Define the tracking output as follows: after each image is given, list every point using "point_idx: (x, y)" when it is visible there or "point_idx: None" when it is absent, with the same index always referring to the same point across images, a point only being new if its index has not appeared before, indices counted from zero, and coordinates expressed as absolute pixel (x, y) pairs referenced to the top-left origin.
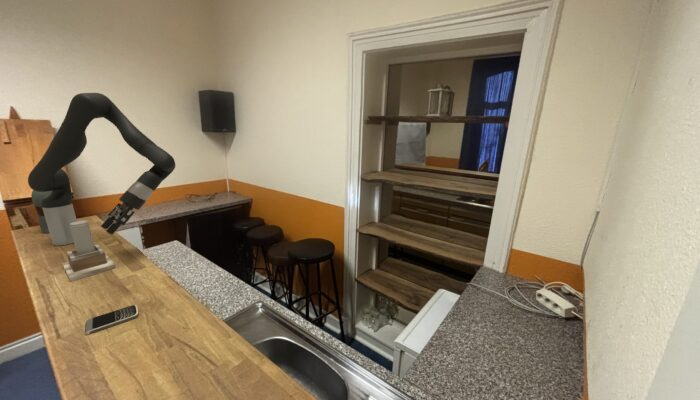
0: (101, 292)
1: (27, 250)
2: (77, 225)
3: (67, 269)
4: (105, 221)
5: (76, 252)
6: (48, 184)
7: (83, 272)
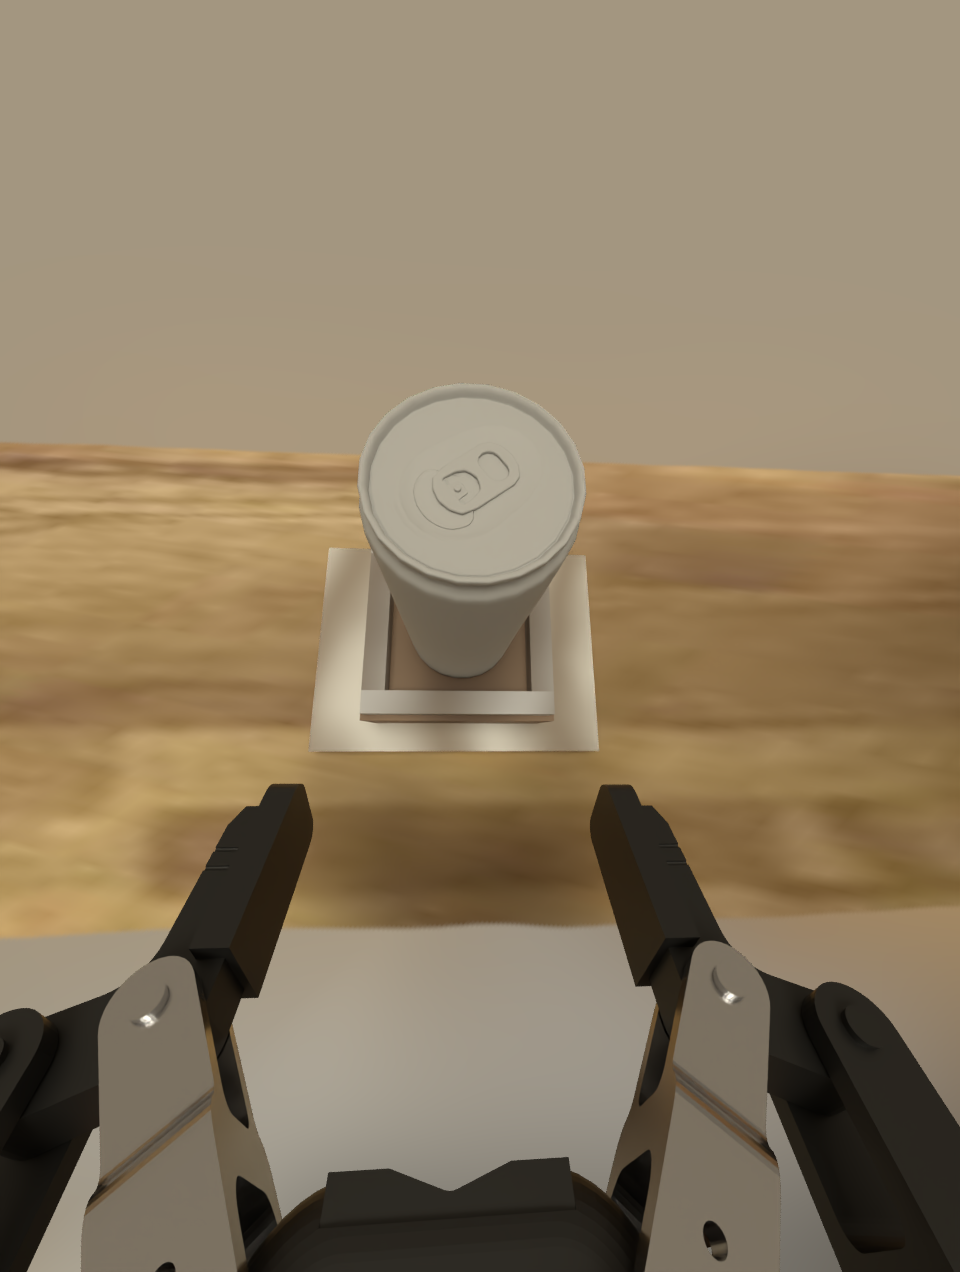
0: (46, 628)
1: None
2: (378, 458)
3: None
4: (642, 863)
5: None
6: None
7: (338, 603)
